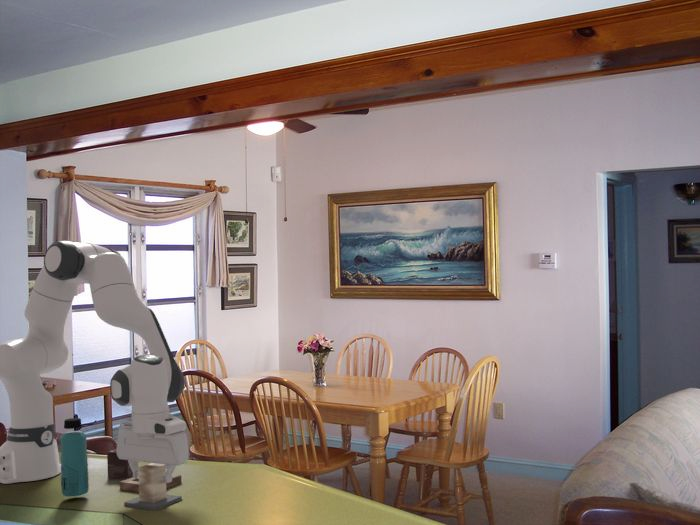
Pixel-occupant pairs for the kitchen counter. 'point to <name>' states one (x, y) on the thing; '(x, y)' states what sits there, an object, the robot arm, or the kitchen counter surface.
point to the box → (118, 466)
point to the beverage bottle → (74, 460)
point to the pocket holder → (133, 483)
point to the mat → (153, 506)
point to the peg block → (152, 483)
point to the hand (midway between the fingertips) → (152, 480)
